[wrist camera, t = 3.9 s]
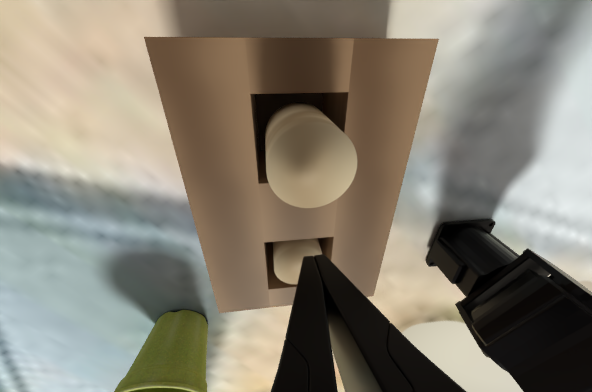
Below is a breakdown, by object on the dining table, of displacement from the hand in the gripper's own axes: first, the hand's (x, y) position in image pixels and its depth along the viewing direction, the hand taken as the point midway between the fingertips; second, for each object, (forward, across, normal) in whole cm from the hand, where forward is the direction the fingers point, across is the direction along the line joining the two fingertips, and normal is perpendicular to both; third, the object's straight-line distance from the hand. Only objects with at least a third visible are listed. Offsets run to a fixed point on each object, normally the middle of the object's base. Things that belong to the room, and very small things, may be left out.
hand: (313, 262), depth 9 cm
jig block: (+13, 0, +2) cm, 13 cm away
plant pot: (+13, +14, +22) cm, 29 cm away
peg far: (+12, 0, +7) cm, 15 cm away
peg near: (+9, -1, -3) cm, 9 cm away
